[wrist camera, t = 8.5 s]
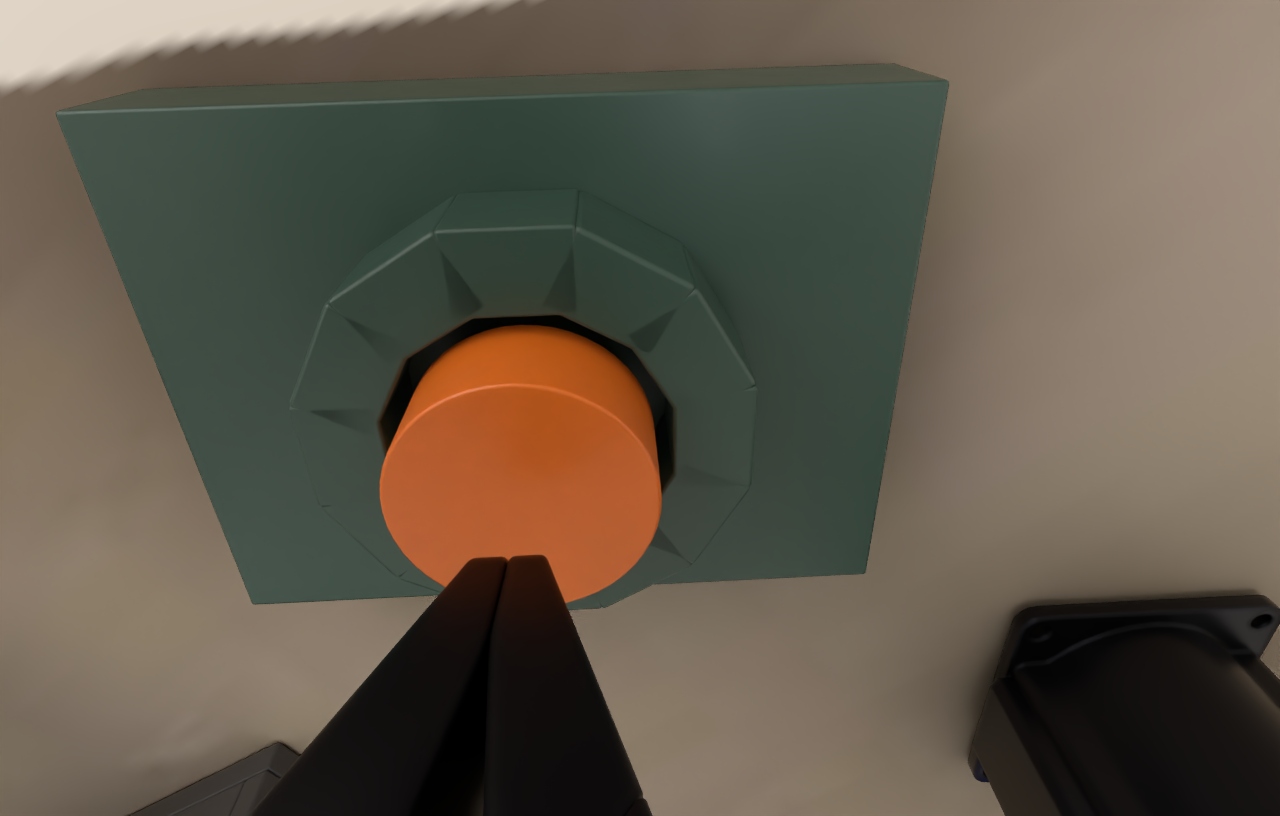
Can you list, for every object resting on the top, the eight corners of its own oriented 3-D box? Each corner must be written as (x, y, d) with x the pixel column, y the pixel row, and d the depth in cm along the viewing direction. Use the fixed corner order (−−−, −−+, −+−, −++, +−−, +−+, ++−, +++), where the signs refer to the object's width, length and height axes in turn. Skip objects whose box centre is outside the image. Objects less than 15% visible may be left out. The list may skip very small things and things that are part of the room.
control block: (896, 63, 12) (1014, 99, 9) (836, 505, 17) (897, 646, 13) (141, 88, 12) (-52, 137, 8) (292, 532, 16) (209, 682, 13)
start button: (652, 317, 10) (660, 377, 9) (656, 523, 12) (664, 602, 10) (386, 328, 10) (348, 391, 9) (431, 533, 12) (408, 615, 10)
